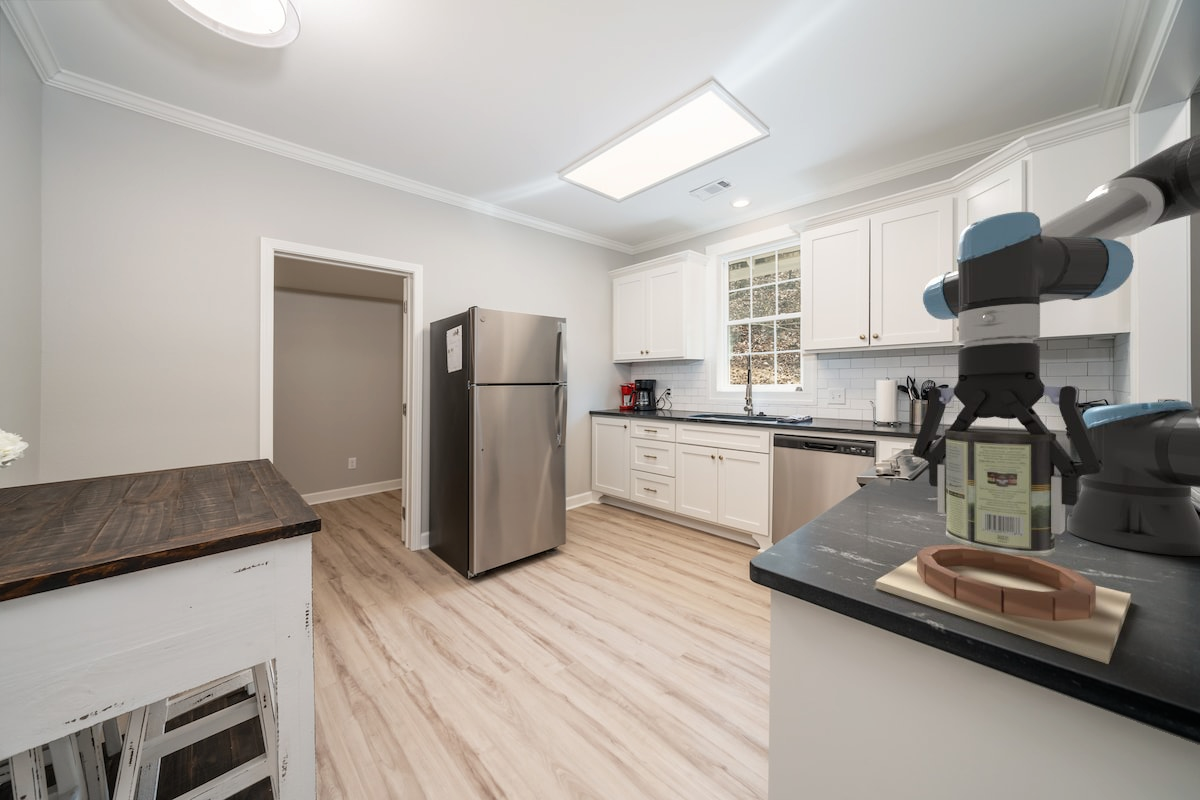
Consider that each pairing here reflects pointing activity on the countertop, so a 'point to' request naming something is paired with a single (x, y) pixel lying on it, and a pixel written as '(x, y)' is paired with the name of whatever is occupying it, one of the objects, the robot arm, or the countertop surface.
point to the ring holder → (1015, 596)
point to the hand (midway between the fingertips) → (996, 520)
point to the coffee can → (1000, 490)
